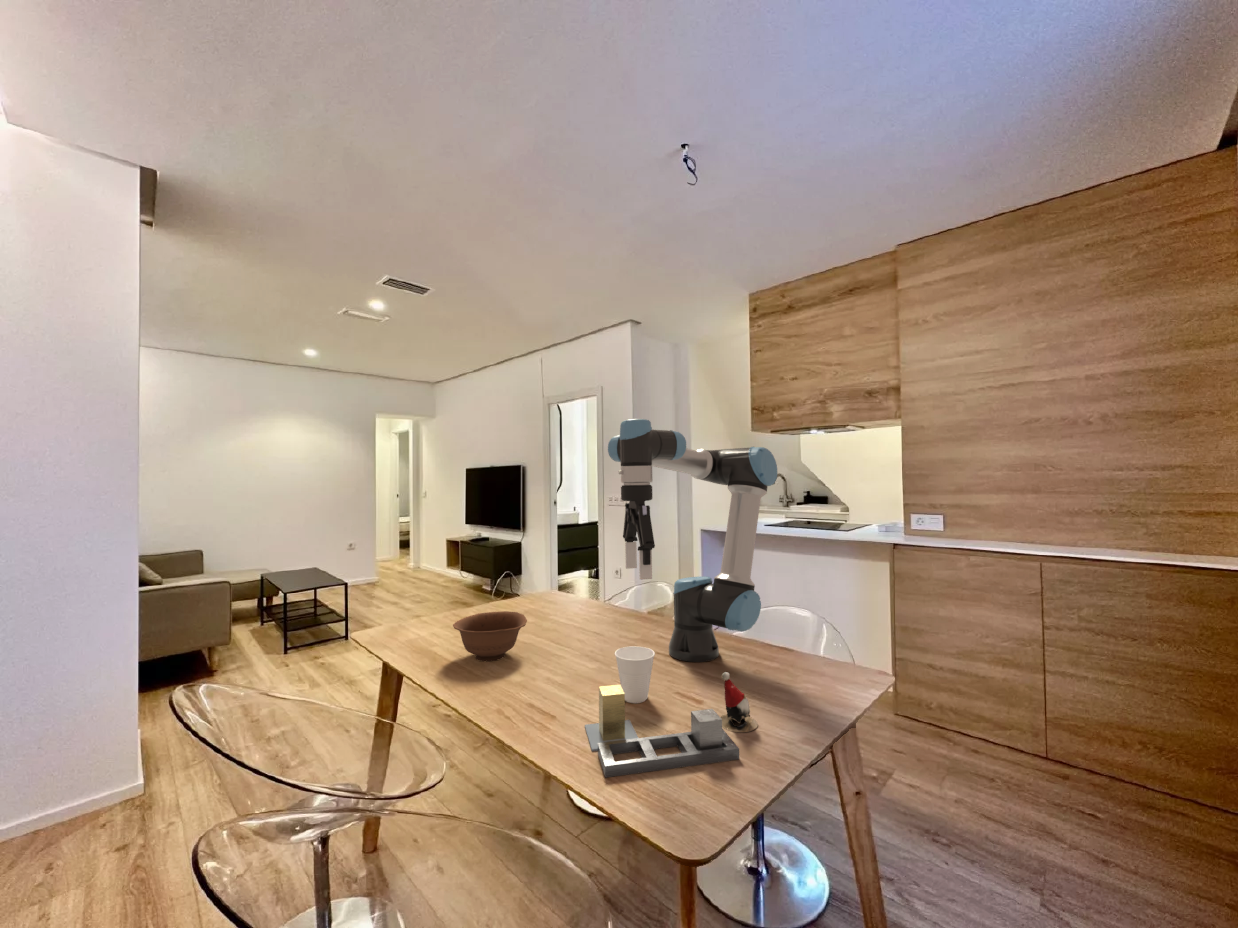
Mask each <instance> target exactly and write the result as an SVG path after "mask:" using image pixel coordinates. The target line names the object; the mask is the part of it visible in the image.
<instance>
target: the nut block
mask: <svg viewBox="0 0 1238 928" xmlns="http://www.w3.org/2000/svg"><path fill="white" fill-rule="evenodd" d="M625 702H626V701H625V693H624V691H623V689H622V688H621V684H612V685H602V686H598V723H599V731H600V734H601V737H602V739H603V741H606V740H614V739H622V738H625V720H626V715H625V714H626V712H625V711H626V708H625V707H626V703H625Z"/></svg>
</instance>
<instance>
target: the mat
mask: <svg viewBox="0 0 1238 928" xmlns="http://www.w3.org/2000/svg"><path fill="white" fill-rule="evenodd" d="M584 729H585V733H586V737H587V739H588V744H589V746H590V749H591V752H598V743H602V742H610V741H619V740H627V739H635V738H639V736H638V734H637V732H636V730H635V728H634V726H633V724H632V722H631V720H630V719H625V738H622V739H614V740H606V741H603V739H602V737H601V734H600V731H599V722H598V723H597V722H596V723H588V724H587V723H586V724H584Z"/></svg>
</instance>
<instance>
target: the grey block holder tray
mask: <svg viewBox="0 0 1238 928" xmlns="http://www.w3.org/2000/svg"><path fill="white" fill-rule="evenodd" d="M674 747H677V748H678V749H679V751H680V752H679V753H672V754H663V755H657V754H656V751H655V750H658V749H666V748H674ZM634 752H639V755H640V758H634V759H626V760H625V759H624V760H618V761H615V758H614V755H618V754H619V755H621V754H626V753H627V754H628V753H634ZM597 756H598V759H599V762H600V765H601V768H602V771H603V775H604V777H605V778H612V777H618V776H619V777H620V776H626V775H627V776H628V775H634V774H635V775H636V774H641V773H649V772H656V771H664V770H673V769H678V768H679V769H680V768H685V767H693V766H700V765H706V764H707V765H708V764H715V763H723V762H727V761H728V762H730V761H736V760H740V748H739V746H738V745H737V744H736V743H735V742H734V740H733V739H732V738H731V737H730V736H729V734H728V733H727V732H726V731H725V730H724V728H722V748H716V749H709V750H701V751H697V749H696V748H695V746H694V745H693V743H692V742H691V731H687V732H685V731H684V732H677V733H676V732H675V733H669V734H662V735H654V736H653V735H652V736H646V737H644V736H643V737H638V738H635V739H627V740H619V741H610V742H602V743H598V751H597Z"/></svg>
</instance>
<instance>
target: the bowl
mask: <svg viewBox="0 0 1238 928" xmlns="http://www.w3.org/2000/svg"><path fill="white" fill-rule="evenodd" d="M527 622H528V619H527V618H526V616H525V614H522V613H520V612H517V611H507V610H505V611H501V610H500V611H487V612H479V613H475V614H472V615H469V616H468V615H467V616H464V617H463V618H461V619H458V620H457V621H455V622H454V623H453V624H452V626H453V629H454V630H457V631H458V632H459V634H460V637H461V642H462V645H463V647H464V649H465V651H466V652H468V653H470V654H471V655H473V656H475V659H476V660H477V661H479V662H484V661H486V662H487V663H488V662H494V661H499V660H502V659H503V658H505V657H506V653H507V652H509V651H510V650H511V649H512V648H513V647H514V646H515V645H516V643H517V639H518V636H519V632H520V630H521V629H522V628H524V627H526V625H527Z"/></svg>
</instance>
